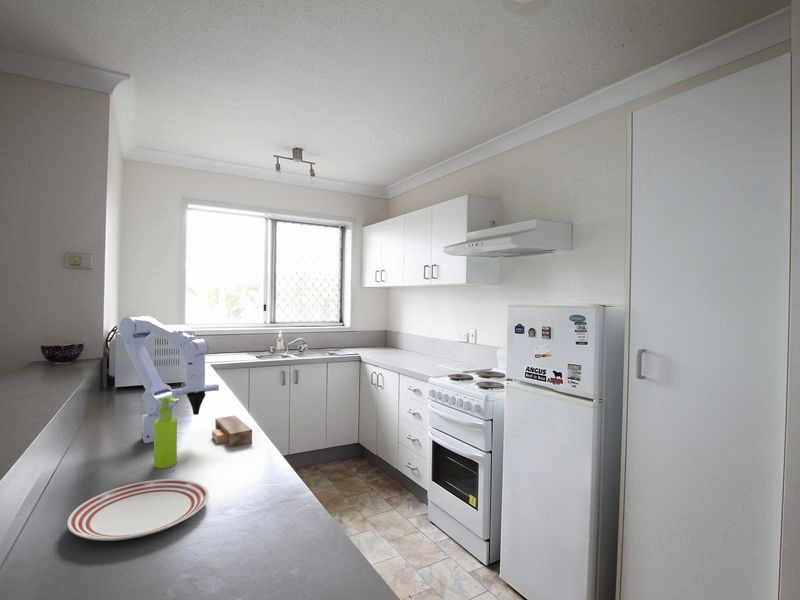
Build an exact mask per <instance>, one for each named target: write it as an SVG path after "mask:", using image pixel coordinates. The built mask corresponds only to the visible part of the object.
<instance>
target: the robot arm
mask: <svg viewBox="0 0 800 600" xmlns="http://www.w3.org/2000/svg"><path fill="white" fill-rule="evenodd" d="M117 329H118V332H119V334H120V336H121V339H122V340H123V345H124V346H123V347H124V348H125V350H126V352H127V354H128V356H129V359H130V360H131V362H132V365H133V367H134V369H135V370H136V372H137V373H136V374H137V375H138V377H139V379H140V381H141V383H142V386H143V387H144V389H145V390H144V392H143V393H142V395H141V399H142V402H143V409H144V411H145V412H146V414H142V416H141V438H142V441H143V443H144V444H148V443H154V422H155V421H156V420H159V409H161V408H162V401H159V399H160V398H163V397H174V398H177V399H179V397H178V396H184V395H186V397H187V399H188V401H189V403H190V406H191V410H192V414H193V415H194V416H196V415H199V414H200V409H201V406H202V403H203V401H204V399H205V397H206V393H207V392H215V391H216V392H218V391H219V390H220V384H206V354H207V353H208V352H209V349H210V346H209V343H208V341H207V340H206V339H204V338H203V337H202V338H201V337H200V338H196V337H195V336H194V335H190V334H188V333H187V332H185V330H183V329H175V330H173V329H171V328H170V327H167V326H166V325H164V324H162V323H161V322H159V321H157V318H154V317H152V316H150V315H143V316H133V317H132V316H131V317H130V316H126V317H123V318H121V320H120V322H119V325H118V328H117ZM151 334H153V335H157V336H159V337H161V338H163V339H164V340H167V344H168V345H170V346H172V347H173V348H175V349H177V350H179V351H181V352H182V354H183V355H184V357H185V362H186V386H184V387H180V388H174V389H172V388H171V387H172V386H170V385H168V384H167V383H164V382H163V381H162V379H161V377H160V375H159V373H158V370H157V368H156V367H155V365H154V363H153V361H152V358H151V356H150V355H149V352H148V351H147V349H146V347H145V342H146V341H148V338H149V337H150V336H151ZM178 403H179V400H178V401H176V402H172V401H169V407H170V408H172V418H174V413H173V412H174V410H175V407H176V406H177V404H178Z"/></svg>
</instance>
